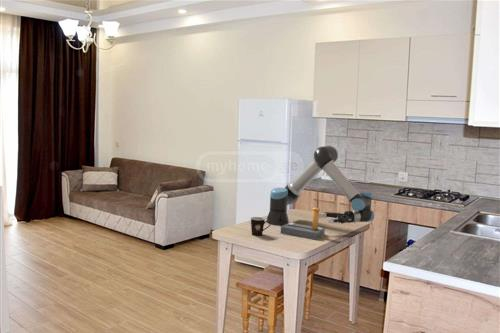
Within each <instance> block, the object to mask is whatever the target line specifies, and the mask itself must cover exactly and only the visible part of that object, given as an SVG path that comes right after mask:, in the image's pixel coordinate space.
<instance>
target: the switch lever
mask: <svg viewBox="0 0 500 333" xmlns="http://www.w3.org/2000/svg"><path fill="white" fill-rule="evenodd" d="M320 210H321V208H320V207H312V222H311V226H312V229H313V230H316V231H317V229H318V227H319V219H320V218H319V213H320Z"/></svg>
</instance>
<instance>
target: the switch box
mask: <svg viewBox="0 0 500 333" xmlns="http://www.w3.org/2000/svg"><path fill="white" fill-rule="evenodd" d="M325 231H326V229H325V227H320V226H318V229H317V231H316V230H313V229H312V225H307V224H300V223H295V222H289V223H288V224H286V225H281V226H280V234H284V235H290V236H295V237H299V238H305V239H311V240H317V241H318V240H319V239H320V238H322V237H323V236H325Z"/></svg>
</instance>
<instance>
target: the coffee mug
mask: <svg viewBox="0 0 500 333" xmlns="http://www.w3.org/2000/svg"><path fill="white" fill-rule="evenodd" d="M267 222H269V221H267V220H266V219H265V217H260V216H253V217H250V226H251V227H250V228H251V235H252V236H254V237H261V236H263V232H264V231H265V230H267V229H268V228H269V227H271V224H269V223H270V222H269V223H268V224H269V225H268V226H267V227H265V226H264V225H265V224H266V223H267ZM264 227H265V228H264Z"/></svg>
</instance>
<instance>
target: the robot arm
mask: <svg viewBox="0 0 500 333" xmlns="http://www.w3.org/2000/svg"><path fill="white" fill-rule="evenodd" d="M313 152H314V153H313V160H312V161H311V162H310V163H309V165H307V167H305V169H304V170H303V171H301V173H300V174H299V175H298V176H297V177H296V178H295V179H294V180H293V181H292V182H289V183H288V184H286V186H284V187H274V188H272V189H271V190H270V194H269V196H270V198H269V212H268V214H267V217H266V221H269V222H270V223H269V222H266V223H268V224H269V225H275V226H284V225H286V224H288V223H290V222H289V221H290V220H289V216H288V212H287V211H288V206H289V205H293V204H295V203H296V202H297V201H298V199H299V197H300V196H301V194H302V191H303V190H304V189H305V188H306V187H307V186H308V185H309V184H310V183H311V182H312V180H314V179H315V178H316V176H317V175H319V174H320V172H322V171H324V172H325V173H326V174H327V176H328V177H329V178H330V179H331V180H332V182H333V183H334V184H335V185H336V187H337V188H338V189H339V190H340V191H341V193H342V194H343V195H344V196H345V198H346V199H347V201H349V203H350V205H351V206H350V207H351V209H353V210H346V211H344V212H343V213H340V212H330V211H329V212H328V211H324V212H322V213H320V212H319V219H321V218H323V219H327V218H328V219H327V220H328V221H327V222H328V224H337V223H338V224H346V223H347V224H350V223H354V224H356V223H369V222H372V221H374V219H375V213H374V211H373V210H372V209H371V208H372V201H373V200H372V199H373V198H372V197H373V195H372V194H373V193H372V192H369V191H360V192H358V190H357V189H356V188H355V187H354V186H353V185H352V184H351V182H350V181H349V180H348V179H347V177H346V176H345V175H344V173H343V172H342V171H341V170H340V169H339V167H337V165H336V164H335V162H336V161H338V158H339V152H338V149H336V148H335V147H334V146H332V145H325V146H319V147H318V148H316V149H315V150H314V151H313Z"/></svg>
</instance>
